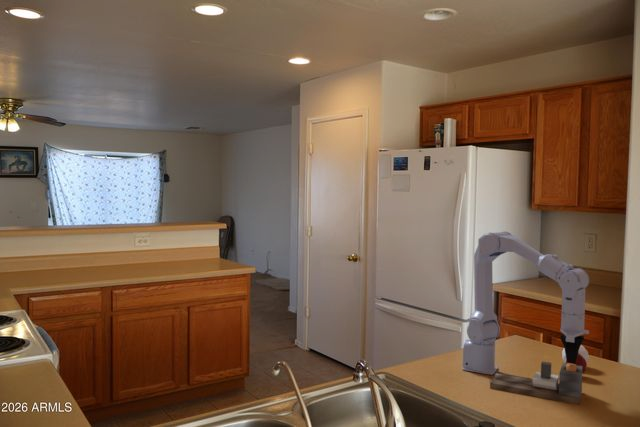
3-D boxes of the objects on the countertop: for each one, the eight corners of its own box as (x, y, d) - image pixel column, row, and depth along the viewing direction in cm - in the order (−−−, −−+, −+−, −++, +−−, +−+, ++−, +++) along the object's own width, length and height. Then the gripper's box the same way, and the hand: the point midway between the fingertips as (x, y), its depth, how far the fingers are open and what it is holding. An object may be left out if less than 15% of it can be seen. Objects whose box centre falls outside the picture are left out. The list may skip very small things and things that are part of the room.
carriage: (532, 387, 149) (533, 364, 148) (536, 380, 155) (536, 358, 154) (555, 391, 146) (556, 368, 145) (558, 383, 152) (559, 361, 151)
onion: (588, 380, 160) (589, 354, 160) (568, 378, 161) (568, 352, 161) (583, 374, 166) (584, 348, 166) (563, 372, 167) (564, 347, 167)
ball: (575, 377, 171) (569, 360, 167) (560, 361, 178) (554, 345, 174) (596, 366, 171) (591, 349, 167) (580, 350, 178) (575, 334, 174)
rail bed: (490, 387, 153) (490, 361, 153) (497, 377, 162) (497, 352, 161) (579, 404, 142) (580, 376, 141) (581, 392, 150) (582, 365, 150)
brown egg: (565, 379, 146) (565, 365, 146) (566, 376, 149) (566, 362, 149) (575, 380, 145) (576, 367, 145) (576, 378, 147) (576, 364, 147)
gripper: (587, 320, 138) (586, 372, 138) (590, 310, 151) (589, 357, 151) (558, 316, 141) (556, 367, 142) (563, 307, 154) (562, 353, 155)
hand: (571, 362), depth 147 cm, fingers closed
